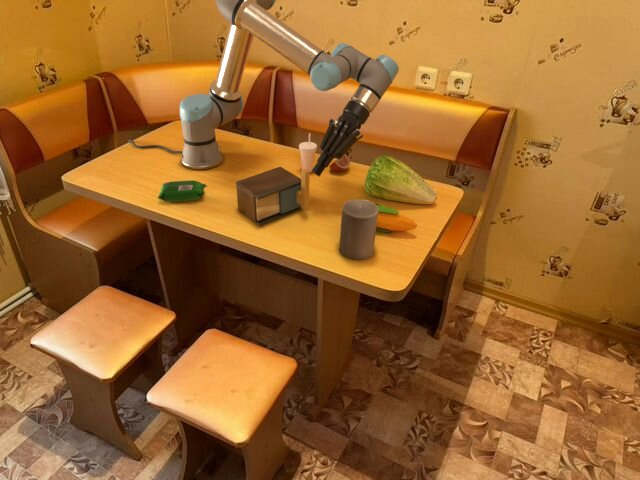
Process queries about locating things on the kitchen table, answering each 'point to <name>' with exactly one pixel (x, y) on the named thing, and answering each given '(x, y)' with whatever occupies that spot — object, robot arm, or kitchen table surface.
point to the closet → (265, 195)
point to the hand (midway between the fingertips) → (315, 173)
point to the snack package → (181, 191)
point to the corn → (392, 220)
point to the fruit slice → (341, 163)
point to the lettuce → (397, 182)
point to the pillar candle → (358, 229)
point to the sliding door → (296, 195)
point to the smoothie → (307, 154)
